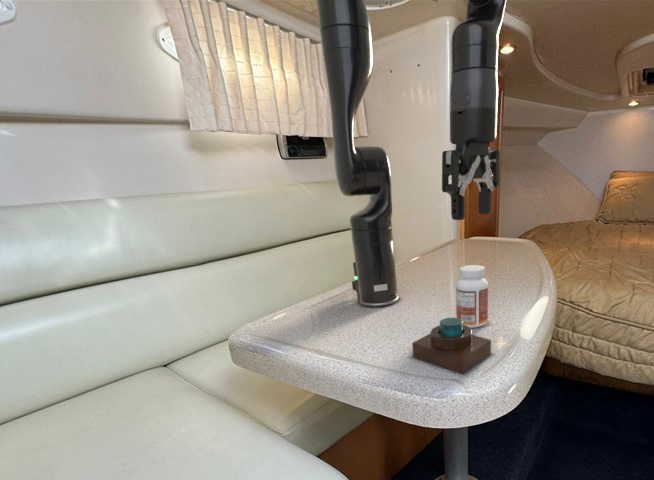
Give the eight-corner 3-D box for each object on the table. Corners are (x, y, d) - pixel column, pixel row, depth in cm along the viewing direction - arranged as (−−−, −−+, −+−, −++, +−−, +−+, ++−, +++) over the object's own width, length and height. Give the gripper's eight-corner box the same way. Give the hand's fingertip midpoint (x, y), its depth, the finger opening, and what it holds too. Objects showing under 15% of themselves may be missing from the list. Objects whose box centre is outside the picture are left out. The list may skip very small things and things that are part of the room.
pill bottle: (480, 315, 76) (481, 262, 72) (492, 325, 71) (494, 269, 66) (452, 319, 75) (451, 266, 70) (462, 330, 70) (462, 273, 65)
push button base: (413, 357, 60) (411, 332, 58) (442, 341, 66) (441, 317, 64) (463, 374, 54) (462, 347, 52) (490, 354, 60) (491, 329, 58)
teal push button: (435, 334, 58) (435, 322, 57) (448, 327, 61) (448, 316, 60) (453, 339, 56) (453, 327, 55) (466, 332, 58) (466, 320, 58)
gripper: (477, 114, 65) (475, 211, 72) (426, 108, 55) (430, 220, 62) (515, 109, 60) (509, 212, 68) (468, 100, 51) (467, 222, 58)
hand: (471, 216), depth 65 cm, fingers open, 8 cm apart
